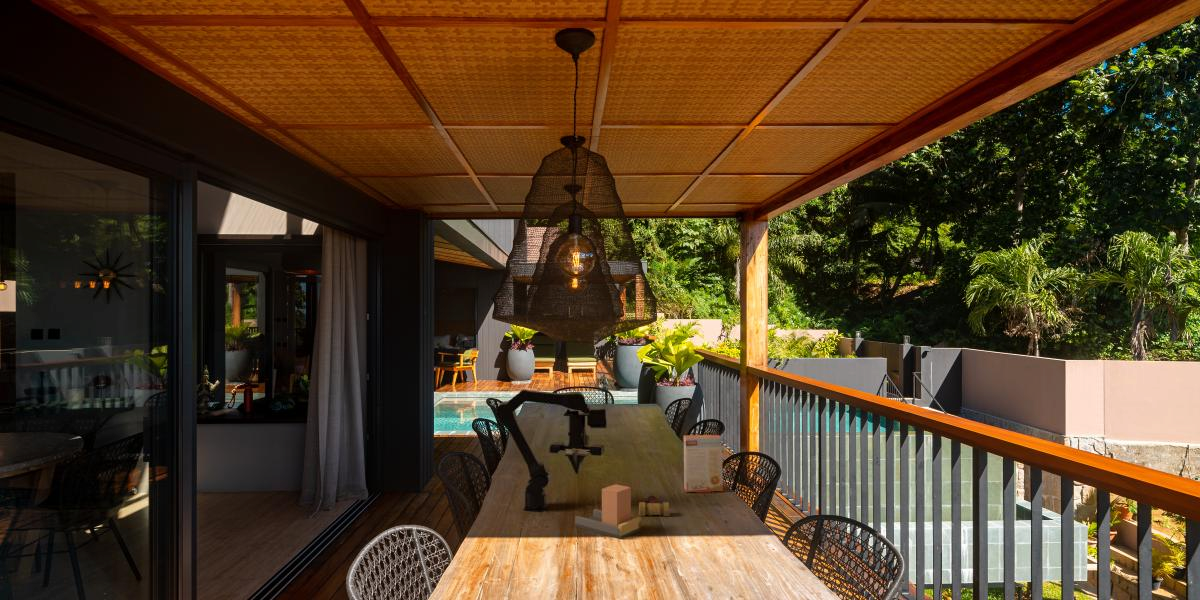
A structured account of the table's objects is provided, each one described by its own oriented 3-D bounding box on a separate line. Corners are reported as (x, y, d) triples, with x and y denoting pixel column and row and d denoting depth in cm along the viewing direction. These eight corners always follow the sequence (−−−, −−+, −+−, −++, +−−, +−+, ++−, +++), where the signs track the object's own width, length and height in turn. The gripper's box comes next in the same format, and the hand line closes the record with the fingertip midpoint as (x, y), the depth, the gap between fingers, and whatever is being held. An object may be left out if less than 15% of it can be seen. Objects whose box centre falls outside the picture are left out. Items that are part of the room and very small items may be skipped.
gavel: (637, 490, 237) (665, 490, 237) (637, 503, 236) (665, 503, 236) (639, 503, 216) (669, 504, 216) (639, 517, 216) (669, 518, 215)
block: (601, 527, 201) (601, 488, 202) (615, 521, 207) (615, 484, 207) (617, 531, 198) (617, 492, 198) (630, 525, 203) (630, 487, 203)
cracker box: (719, 488, 250) (719, 434, 250) (722, 492, 244) (722, 437, 244) (683, 488, 250) (683, 434, 250) (685, 493, 244) (685, 437, 244)
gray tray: (575, 526, 206) (575, 513, 206) (595, 518, 214) (595, 506, 214) (621, 539, 195) (621, 525, 195) (640, 530, 203) (640, 517, 203)
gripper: (608, 425, 231) (608, 469, 231) (558, 423, 236) (558, 466, 236) (600, 431, 220) (600, 477, 220) (548, 428, 225) (548, 474, 225)
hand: (577, 473), depth 225 cm, fingers closed
